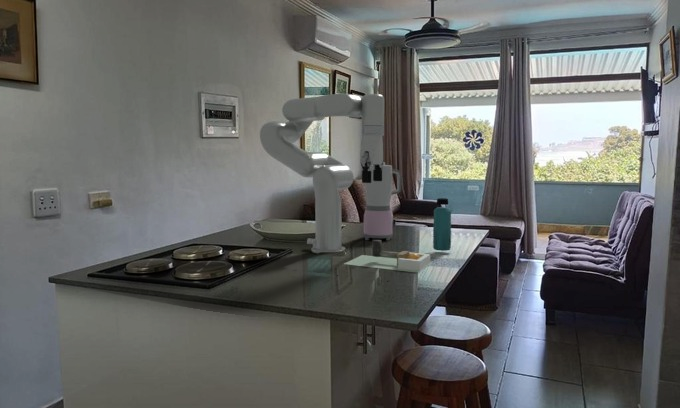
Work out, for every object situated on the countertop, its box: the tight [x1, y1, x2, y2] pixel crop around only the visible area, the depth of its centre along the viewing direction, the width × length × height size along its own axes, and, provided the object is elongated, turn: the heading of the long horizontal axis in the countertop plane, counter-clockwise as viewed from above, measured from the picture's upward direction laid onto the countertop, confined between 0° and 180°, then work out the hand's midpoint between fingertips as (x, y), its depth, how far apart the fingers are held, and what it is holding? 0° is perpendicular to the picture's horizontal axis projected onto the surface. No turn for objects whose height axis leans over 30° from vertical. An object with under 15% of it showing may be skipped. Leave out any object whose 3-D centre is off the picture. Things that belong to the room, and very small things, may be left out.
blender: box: [363, 161, 402, 242], centre depth 209 cm, size 16×12×32 cm
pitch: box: [343, 254, 434, 274], centre depth 162 cm, size 25×15×1 cm, turn 64°
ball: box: [407, 252, 420, 260], centre depth 158 cm, size 4×4×4 cm
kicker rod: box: [371, 239, 410, 266], centre depth 162 cm, size 12×6×7 cm, turn 64°
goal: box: [398, 251, 431, 272], centre depth 158 cm, size 7×11×3 cm, turn 154°
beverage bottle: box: [432, 197, 452, 252], centre depth 182 cm, size 6×7×20 cm
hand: (372, 181), depth 173 cm, fingers open, 9 cm apart
